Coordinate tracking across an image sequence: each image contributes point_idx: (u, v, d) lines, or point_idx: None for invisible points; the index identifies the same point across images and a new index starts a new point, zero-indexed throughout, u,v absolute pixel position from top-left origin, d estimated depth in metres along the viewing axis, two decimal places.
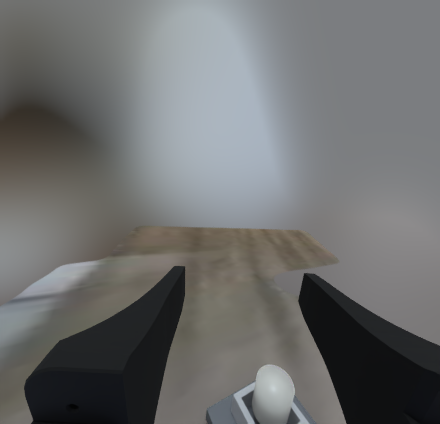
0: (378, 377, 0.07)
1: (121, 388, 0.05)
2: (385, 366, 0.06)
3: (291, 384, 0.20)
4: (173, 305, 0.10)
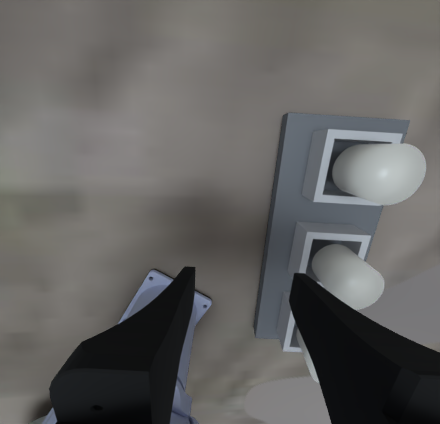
0: (360, 376, 0.07)
1: (146, 389, 0.05)
2: (366, 365, 0.06)
3: (412, 190, 0.12)
4: (185, 306, 0.10)
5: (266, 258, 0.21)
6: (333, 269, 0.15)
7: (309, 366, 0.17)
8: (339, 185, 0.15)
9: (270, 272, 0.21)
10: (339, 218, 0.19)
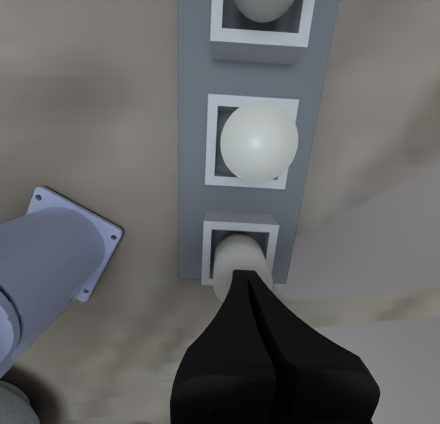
0: None
1: (268, 395, 0.05)
2: (273, 360, 0.06)
3: None
4: None
5: None
6: None
7: (213, 281, 0.13)
8: None
9: (185, 182, 0.16)
10: (267, 97, 0.14)
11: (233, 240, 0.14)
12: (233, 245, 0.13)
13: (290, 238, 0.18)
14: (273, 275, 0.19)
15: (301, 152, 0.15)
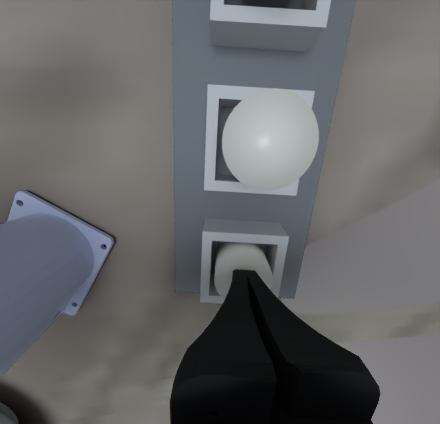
0: None
1: (268, 396, 0.05)
2: (273, 360, 0.06)
3: None
4: None
5: None
6: None
7: (214, 278, 0.13)
8: None
9: (182, 186, 0.14)
10: None
11: None
12: (234, 243, 0.14)
13: (299, 249, 0.16)
14: (280, 289, 0.17)
15: None
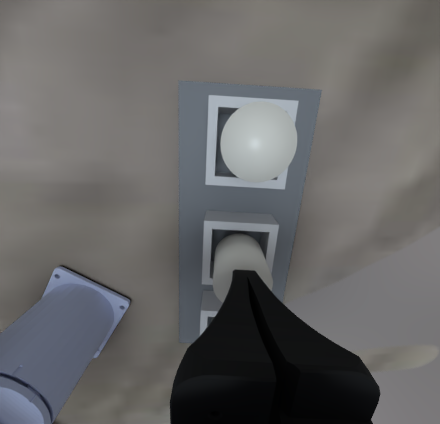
0: None
1: (268, 395, 0.05)
2: (272, 360, 0.06)
3: (285, 162, 0.10)
4: None
5: None
6: (218, 261, 0.13)
7: None
8: None
9: (185, 269, 0.19)
10: (254, 206, 0.17)
11: None
12: None
13: None
14: None
15: (284, 247, 0.18)
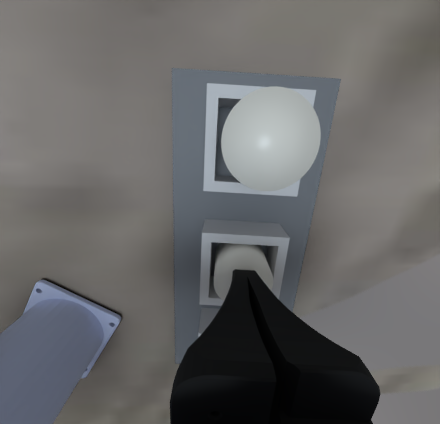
0: None
1: (268, 395, 0.05)
2: (272, 360, 0.06)
3: (304, 166, 0.08)
4: None
5: None
6: (219, 260, 0.13)
7: None
8: None
9: (181, 284, 0.17)
10: (260, 215, 0.15)
11: None
12: None
13: None
14: None
15: (294, 260, 0.16)
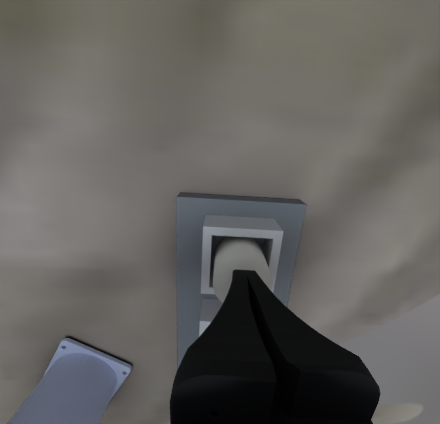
0: None
1: (268, 395, 0.05)
2: (273, 360, 0.06)
3: None
4: None
5: None
6: None
7: None
8: None
9: (183, 345, 0.20)
10: None
11: None
12: None
13: None
14: None
15: None
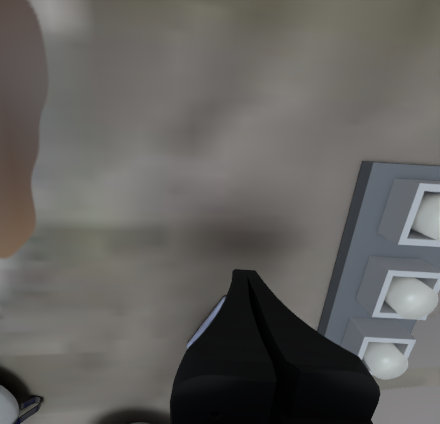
0: None
1: (268, 395, 0.05)
2: (272, 360, 0.06)
3: None
4: None
5: (336, 288, 0.23)
6: (396, 287, 0.19)
7: (370, 364, 0.21)
8: None
9: (339, 300, 0.23)
10: (409, 253, 0.21)
11: None
12: None
13: None
14: None
15: None
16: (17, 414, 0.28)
